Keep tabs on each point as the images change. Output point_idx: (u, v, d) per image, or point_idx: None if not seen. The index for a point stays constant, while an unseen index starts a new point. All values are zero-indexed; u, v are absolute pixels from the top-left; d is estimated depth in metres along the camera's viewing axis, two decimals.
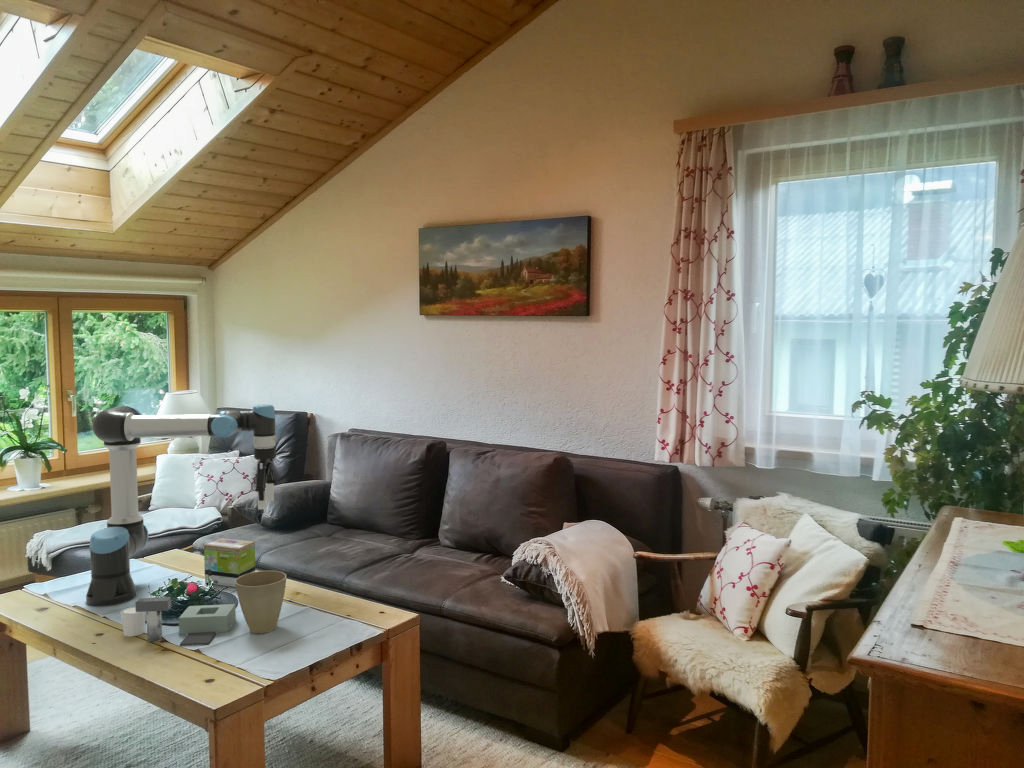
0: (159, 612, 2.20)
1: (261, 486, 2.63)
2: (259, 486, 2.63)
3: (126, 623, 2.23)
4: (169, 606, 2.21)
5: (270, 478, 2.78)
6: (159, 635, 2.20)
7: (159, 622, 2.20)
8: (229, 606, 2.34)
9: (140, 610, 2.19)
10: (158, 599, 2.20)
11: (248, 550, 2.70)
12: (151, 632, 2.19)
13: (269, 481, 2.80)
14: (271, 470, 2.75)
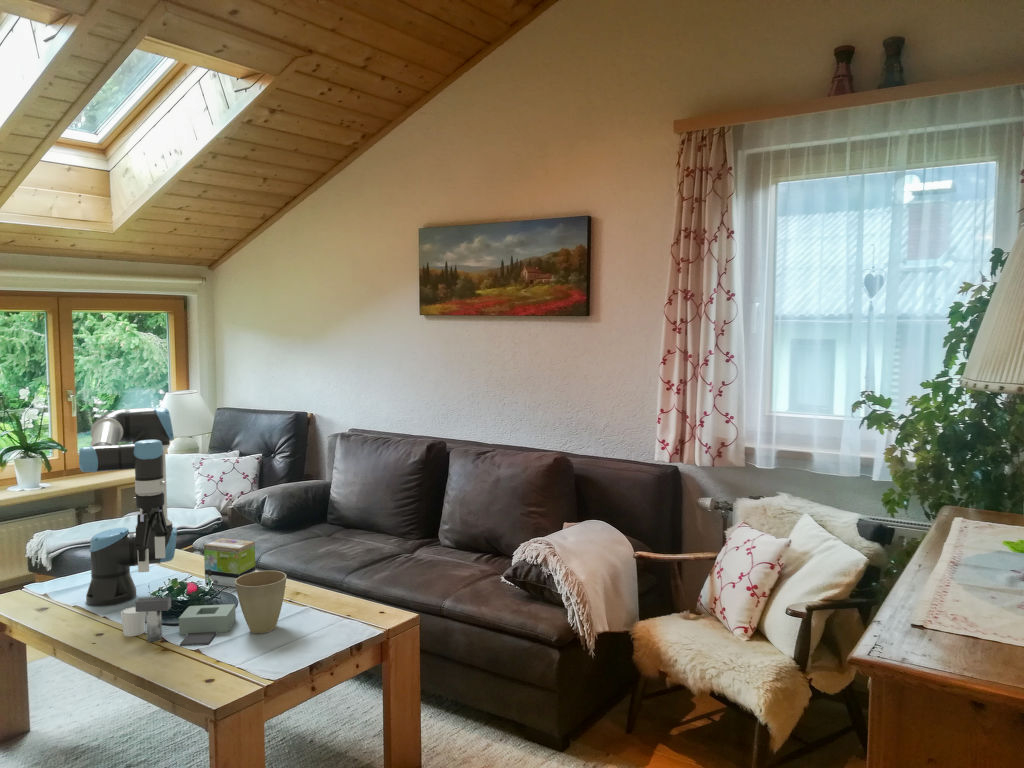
0: (159, 612, 2.20)
1: (140, 544, 2.10)
2: (138, 544, 2.10)
3: (126, 623, 2.23)
4: (169, 606, 2.21)
5: (160, 530, 2.25)
6: (159, 635, 2.20)
7: (159, 622, 2.20)
8: (229, 606, 2.34)
9: (140, 610, 2.19)
10: (158, 599, 2.20)
11: (248, 550, 2.70)
12: (151, 632, 2.19)
13: (159, 534, 2.26)
14: (160, 521, 2.22)
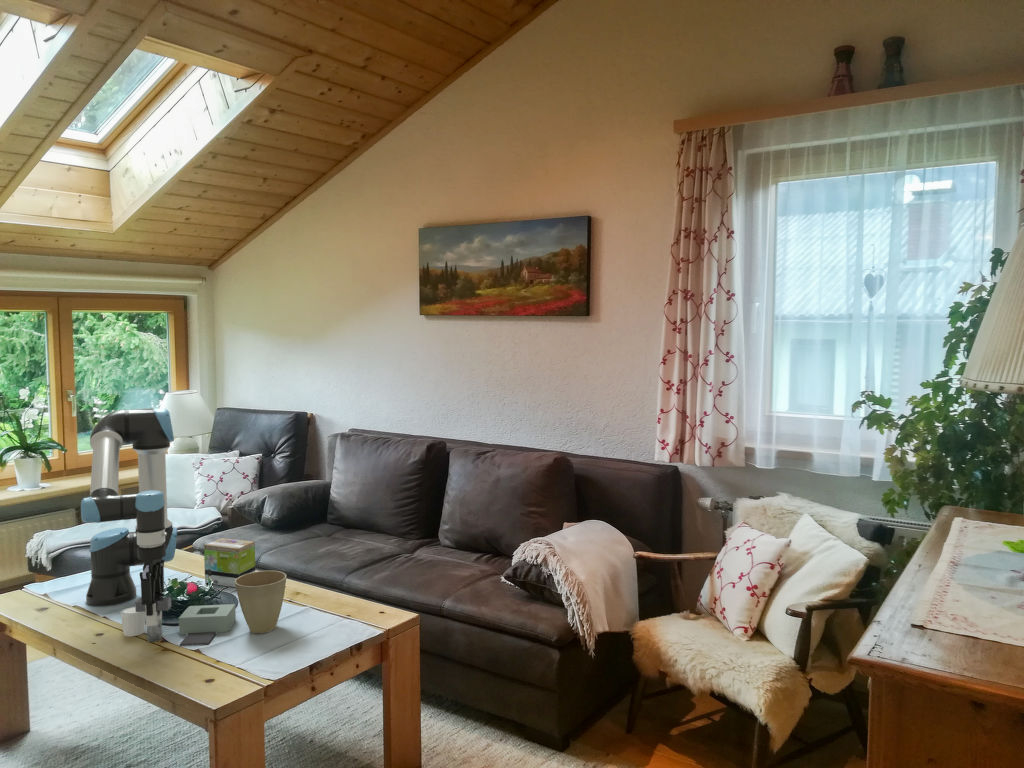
0: (159, 612, 2.20)
1: (148, 600, 2.15)
2: (145, 600, 2.15)
3: (126, 623, 2.23)
4: (169, 606, 2.21)
5: (157, 588, 2.23)
6: (159, 635, 2.20)
7: (159, 622, 2.20)
8: (229, 606, 2.34)
9: (140, 610, 2.19)
10: (158, 599, 2.20)
11: (248, 550, 2.70)
12: (151, 632, 2.19)
13: (156, 594, 2.23)
14: (159, 574, 2.21)
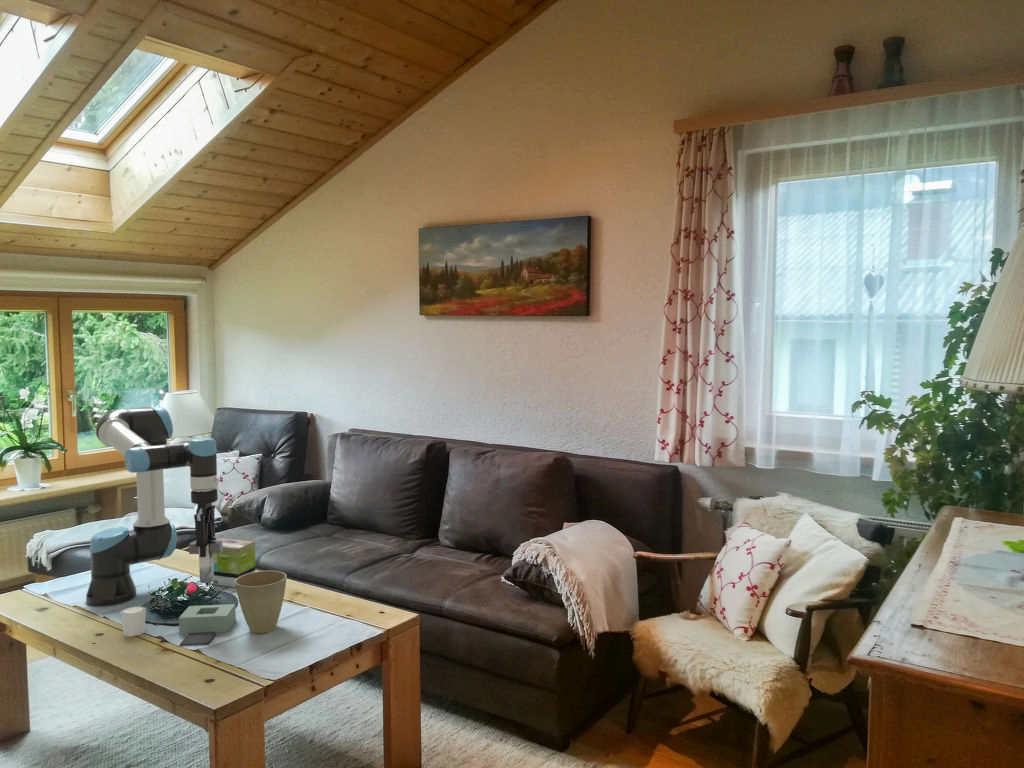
0: (211, 554, 2.28)
1: (202, 542, 2.23)
2: (199, 541, 2.23)
3: (126, 623, 2.23)
4: (221, 549, 2.30)
5: (209, 532, 2.31)
6: (211, 577, 2.29)
7: (211, 564, 2.29)
8: (229, 606, 2.34)
9: (193, 552, 2.27)
10: (210, 542, 2.29)
11: (248, 550, 2.70)
12: (204, 574, 2.28)
13: (208, 538, 2.32)
14: (211, 518, 2.30)
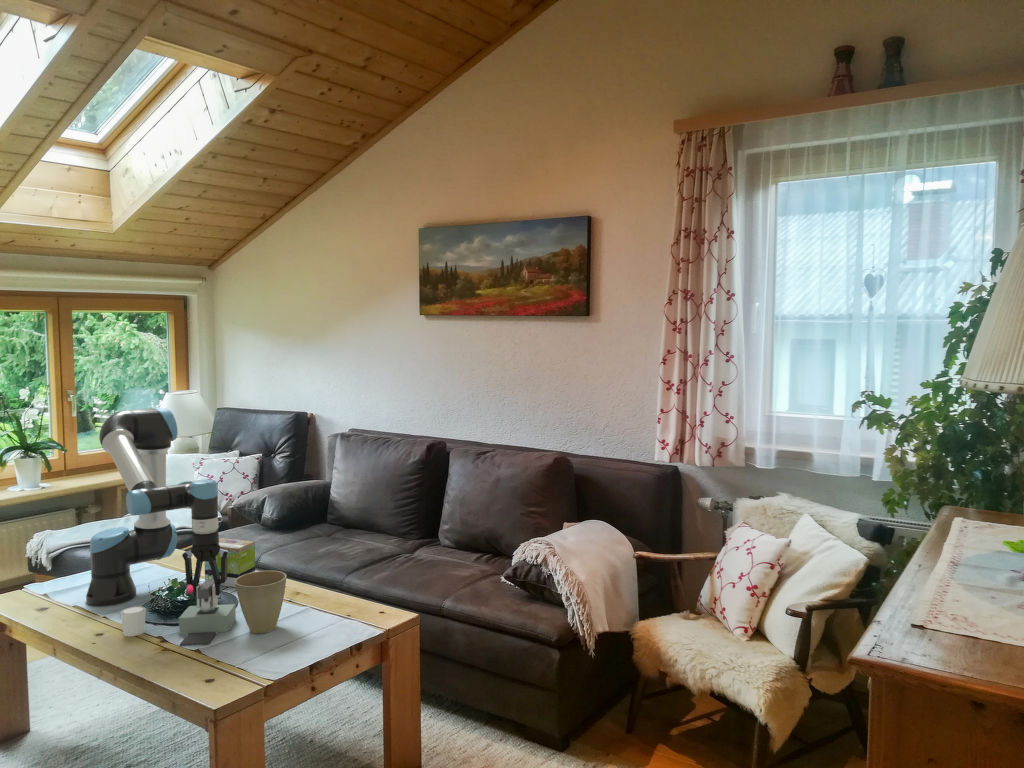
0: None
1: None
2: None
3: (126, 623, 2.23)
4: (202, 596, 2.25)
5: None
6: None
7: (203, 607, 2.28)
8: (229, 606, 2.34)
9: None
10: (204, 585, 2.28)
11: (248, 550, 2.70)
12: None
13: None
14: (209, 562, 2.28)
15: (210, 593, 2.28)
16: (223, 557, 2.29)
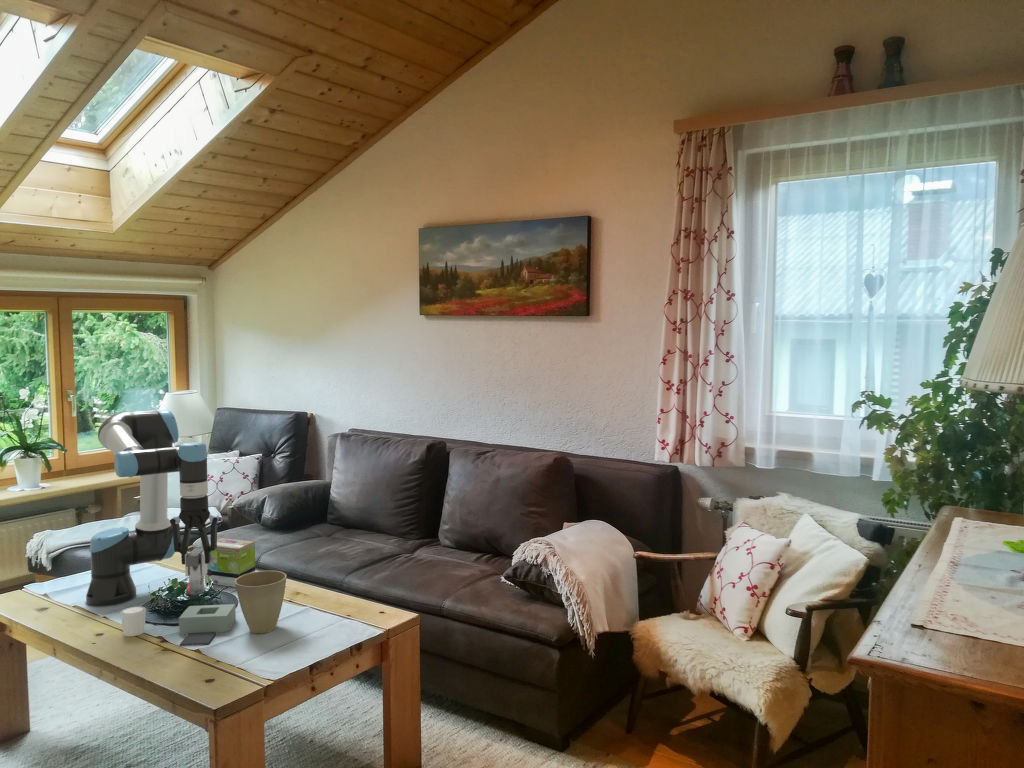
0: None
1: None
2: None
3: (126, 623, 2.23)
4: (191, 564, 2.15)
5: None
6: (191, 589, 2.18)
7: (191, 576, 2.18)
8: (229, 606, 2.34)
9: None
10: (193, 553, 2.17)
11: (248, 550, 2.70)
12: None
13: None
14: (198, 528, 2.17)
15: (199, 561, 2.17)
16: (213, 523, 2.18)
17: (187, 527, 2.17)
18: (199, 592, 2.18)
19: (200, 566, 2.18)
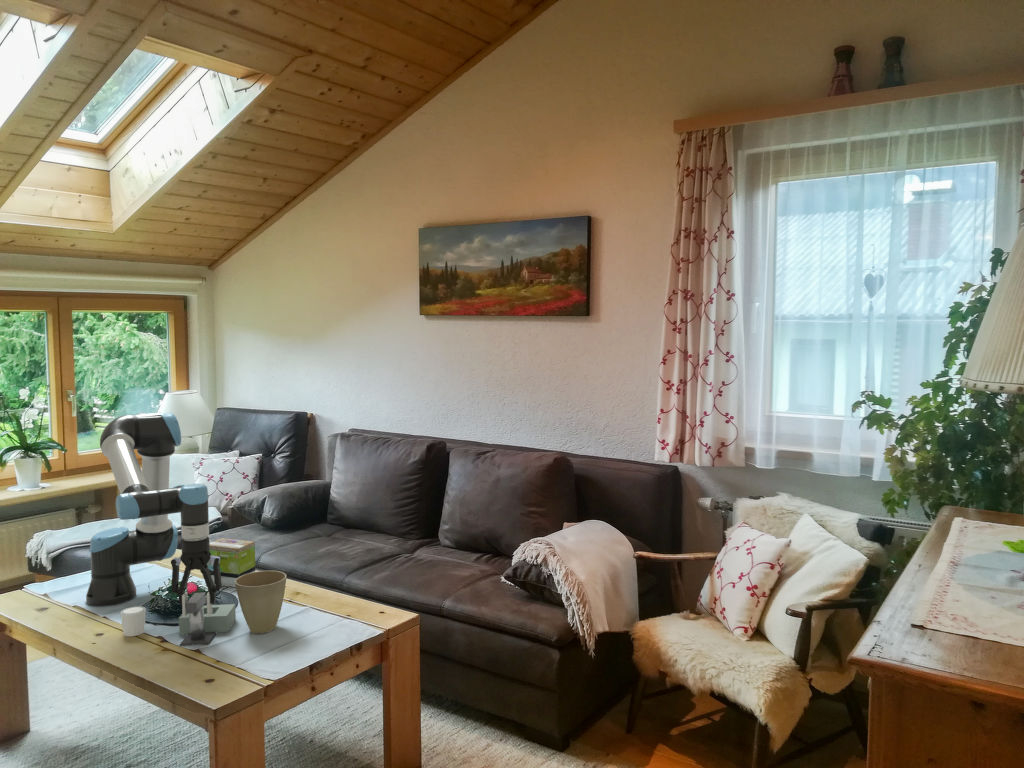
0: None
1: None
2: None
3: (126, 623, 2.23)
4: (191, 611, 2.16)
5: None
6: (192, 635, 2.19)
7: (192, 622, 2.18)
8: (229, 606, 2.34)
9: None
10: (193, 599, 2.18)
11: (248, 550, 2.70)
12: None
13: None
14: (200, 570, 2.18)
15: (199, 607, 2.18)
16: (215, 564, 2.19)
17: (187, 569, 2.17)
18: (200, 638, 2.19)
19: (200, 612, 2.19)
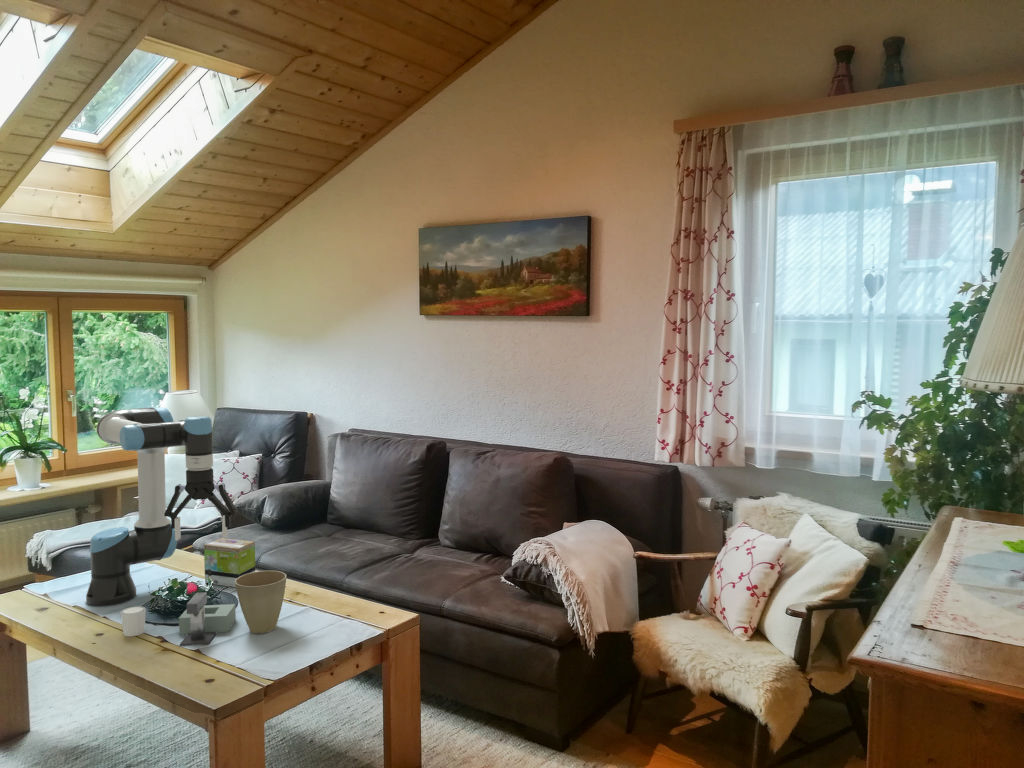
0: None
1: None
2: None
3: (126, 623, 2.23)
4: (191, 611, 2.15)
5: None
6: (192, 635, 2.19)
7: (192, 622, 2.18)
8: (229, 606, 2.34)
9: None
10: (194, 600, 2.18)
11: (248, 550, 2.70)
12: None
13: None
14: (208, 499, 2.23)
15: (200, 608, 2.18)
16: (220, 490, 2.24)
17: (189, 497, 2.22)
18: (200, 638, 2.19)
19: (201, 612, 2.19)
